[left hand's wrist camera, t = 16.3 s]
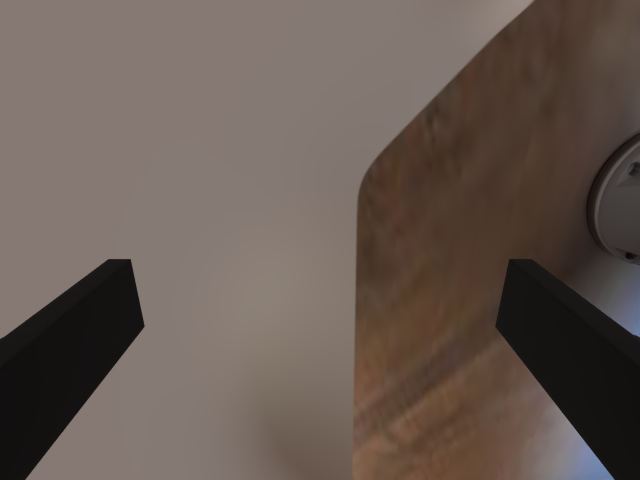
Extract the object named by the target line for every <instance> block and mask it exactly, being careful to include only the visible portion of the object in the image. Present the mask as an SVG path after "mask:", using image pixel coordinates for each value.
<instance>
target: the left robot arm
mask: <svg viewBox="0 0 640 480" xmlns="http://www.w3.org/2000/svg"><path fill="white" fill-rule="evenodd" d="M587 220H588V225H589V229H590V232H591V234H592V236H593V238H594V239H595V241H596V242H597V243H598V244H599V245H600V246H601V247H602V248H603V249H604V250H606V251H607V252H609V253H610V254H612V255H614V256H616V257H618V258H620V259H622V260H624V261H626V262H629V263H632V264H636V265H640V134H639V135H637V136H635V137H634V138H632V139H631V140H630V141H628V142H627V143H626V144H624V145H623V146H622V147H621V148H620V149H619V150H618V151H617V152H615V153H614V154H613V156H612V157H611V158H610V159H609V160H608V161H607V163H606V164H605V165H604V167H603V168H602V170H601V171H600V173H599V174H598V176H597V178H596V180H595V182H594V184H593V186H592V189H591V192H590V195H589V199H588V206H587ZM495 327H496V328H497V329H498V331H499V332H500V333H501V334H502V336H503V337H504V338H505V340H506V341H507V342H508V343H509V345H510V346H511V347H512V349H513V350H514V351H515V352H516V354H517V355H518V356H519V357H520V359H521V360H522V361H523V363H524V364H525V365H526V366H527V368H528V369H529V370H530V372H531V373H532V374H533V375H534V377H535V378H536V379H537V381H538V382H539V383H540V384H541V386H542V387H543V388H544V390H545V391H546V392H547V393H548V395H549V396H550V397H551V399H552V400H553V401H554V402H555V404H556V405H557V406H558V408H559V409H560V410H561V411H562V413H563V414H564V415H565V416H566V418H567V419H568V420H569V422H570V423H571V424H572V425H573V427H574V428H575V429H576V431H577V432H578V433H579V434H580V436H581V437H582V438H583V440H584V441H585V442H586V443H587V445H588V446H589V447H590V449H591V450H592V451H593V452H594V454H595V455H596V456H597V458H598V459H599V460H600V461H601V463H602V464H603V465H604V466H605V468H606V469H607V470H608V472H609V473H610V474H611V475H612V477H613V478H614V479H615V480H640V337H638V336H636V335H632V334H631V333H630V332H628V331H627V330H626V329H624V328H623V327H622V326H620V325H619V324H618V323H616V322H615V321H614V320H612V319H611V318H610V317H608V316H607V315H606V314H604V313H603V312H602V311H600V310H599V309H598V308H596V307H595V306H594V305H592V304H591V303H590V302H588V301H587V300H586V299H584V298H583V297H581V296H580V295H579V294H577V293H576V292H575V291H573V290H572V289H571V288H569V287H568V286H567V285H565V284H564V283H563V282H561V281H560V280H559V279H557V278H556V277H555V276H553V275H552V274H551V273H549V272H548V271H547V270H545V269H544V268H543V267H541V266H540V265H539V264H537V263H536V262H535V261H533V260H532V259H509V263H508V268H507V273H506V278H505V283H504V287H503V292H502V297H501V302H500V307H499V311H498V316H497V321H496V326H495ZM143 328H144V321H143V317H142V311H141V307H140V302H139V297H138V292H137V287H136V283H135V278H134V273H133V268H132V263H131V259H108V260H107V261H105V262H104V263H103V264H101V265H100V266H99V267H97V268H96V269H95V270H93V271H92V272H91V273H89V274H88V275H87V276H85V277H84V278H83V279H81V280H80V281H79V282H77V283H76V284H75V285H73V286H72V287H71V288H69V289H68V290H67V291H65V292H64V293H63V294H61V295H60V296H59V297H57V298H56V299H55V300H53V301H52V302H51V303H49V304H48V305H46V306H45V307H44V308H42V309H41V310H40V311H38V312H37V313H36V314H34V315H33V316H32V317H30V318H29V319H28V320H26V321H25V322H24V323H22V324H21V325H20V326H18V327H17V328H16V329H14V330H13V331H12V332H10V333H9V334H8V335H6V336H5V337H3V338H1V339H0V480H25V479H26V478H27V477H28V475H29V474H30V473H31V472H32V470H33V469H34V468H35V466H36V465H37V464H38V463H39V461H40V460H41V459H42V458H43V456H44V455H45V454H46V452H47V451H48V450H49V449H50V447H51V446H52V445H53V443H54V442H55V441H56V440H57V438H58V437H59V436H60V434H61V433H62V432H63V431H64V429H65V428H66V427H67V425H68V424H69V423H70V422H71V420H72V419H73V418H74V416H75V415H76V414H77V413H78V411H79V410H80V409H81V407H82V406H83V405H84V404H85V402H86V401H87V400H88V399H89V397H90V396H91V395H92V393H93V392H94V391H95V390H96V388H97V387H98V386H99V384H100V383H101V382H102V381H103V379H104V378H105V377H106V375H107V374H108V373H109V372H110V370H111V369H112V368H113V366H114V365H115V364H116V363H117V361H118V360H119V359H120V357H121V356H122V355H123V354H124V352H125V351H126V350H127V348H128V347H129V346H130V345H131V343H132V342H133V341H134V339H135V338H136V337H137V336H138V334H139V333H140V332H141V331H142V329H143Z"/></svg>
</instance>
